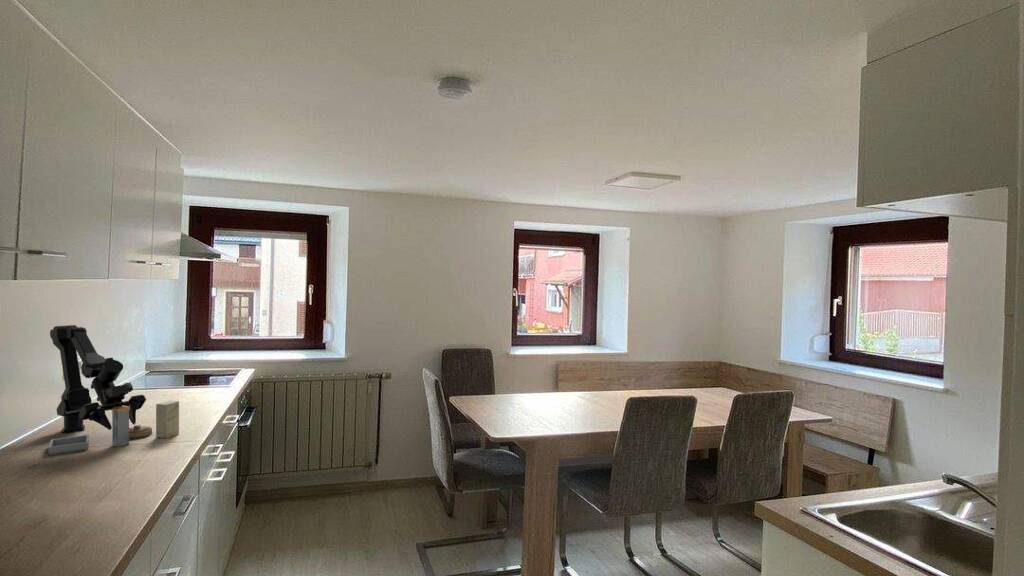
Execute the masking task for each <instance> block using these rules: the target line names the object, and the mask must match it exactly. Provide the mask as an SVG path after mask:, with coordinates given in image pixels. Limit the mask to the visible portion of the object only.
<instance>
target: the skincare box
mask: <svg viewBox="0 0 1024 576" xmlns="http://www.w3.org/2000/svg"><path fill="white" fill-rule="evenodd" d="M155 430H156V431H155V437H156V438H159V437H160V438H161V439H167V438H170V437H174V436H176V435H179V434H180V401H179V400H166V401H163V402H159V403H155ZM160 438H159V439H160Z"/></svg>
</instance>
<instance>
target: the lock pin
mask: <svg viewBox="0 0 1024 576" xmlns="http://www.w3.org/2000/svg"><path fill="white" fill-rule="evenodd" d="M129 410H130V407H129V406H125V405H122V406H117V407H112V410H111V412H112V413H111V415H112V416H111V418H112V419H111V420H112V421H111V423H112V424H111V427H112V429H111V430H112V431H111V433H112V434H111V435H112V438H111V439H112V444H111V445H112V446H113V445H114V446H113V447H116V446H117V448H119V447H118V446H121V447H124V446H123V445H125V446H128V445H127V444H129V445H130V439H129V428H130V419H129Z"/></svg>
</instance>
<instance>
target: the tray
mask: <svg viewBox="0 0 1024 576" xmlns="http://www.w3.org/2000/svg"><path fill="white" fill-rule="evenodd" d="M89 444H90V435H89V434H84V435H75V436H69V437H60V438H59V437H58V438H53V439H50V442H49V445H48V447H47V449H48V450H47V451H48V452H47V453H48V456H53V455H52V454H54V455H61V454H68V453H75V452H81V451H83V450H84V451H88V450H89Z"/></svg>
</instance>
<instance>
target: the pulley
mask: <svg viewBox="0 0 1024 576" xmlns="http://www.w3.org/2000/svg"><path fill="white" fill-rule="evenodd" d="M149 435H150V436H151V435H153V427H151V426H145V425H140V424H135V425H133V427H129V440H134V439H135V440H136V438H138V439H143V438H147V437H149ZM146 436H147V437H146ZM142 437H143V438H142Z"/></svg>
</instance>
